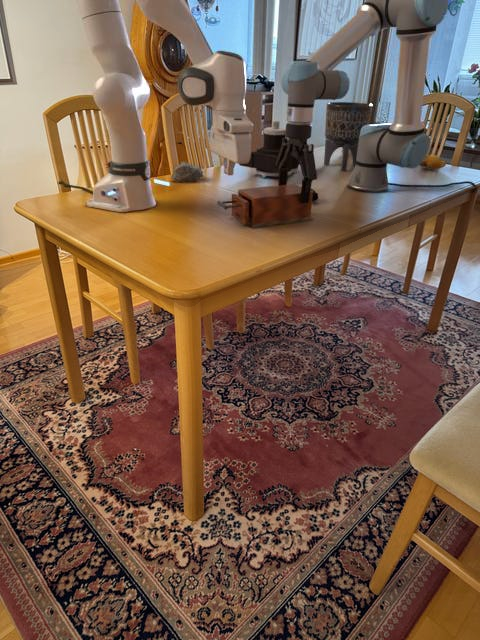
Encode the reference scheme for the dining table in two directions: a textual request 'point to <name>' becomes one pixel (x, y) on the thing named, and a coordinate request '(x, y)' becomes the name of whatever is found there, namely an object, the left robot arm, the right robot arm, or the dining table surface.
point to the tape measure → (314, 195)
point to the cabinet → (277, 205)
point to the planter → (345, 128)
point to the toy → (432, 162)
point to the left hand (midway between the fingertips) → (228, 174)
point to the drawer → (239, 208)
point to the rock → (186, 173)
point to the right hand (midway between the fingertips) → (292, 197)
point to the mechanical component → (270, 153)
